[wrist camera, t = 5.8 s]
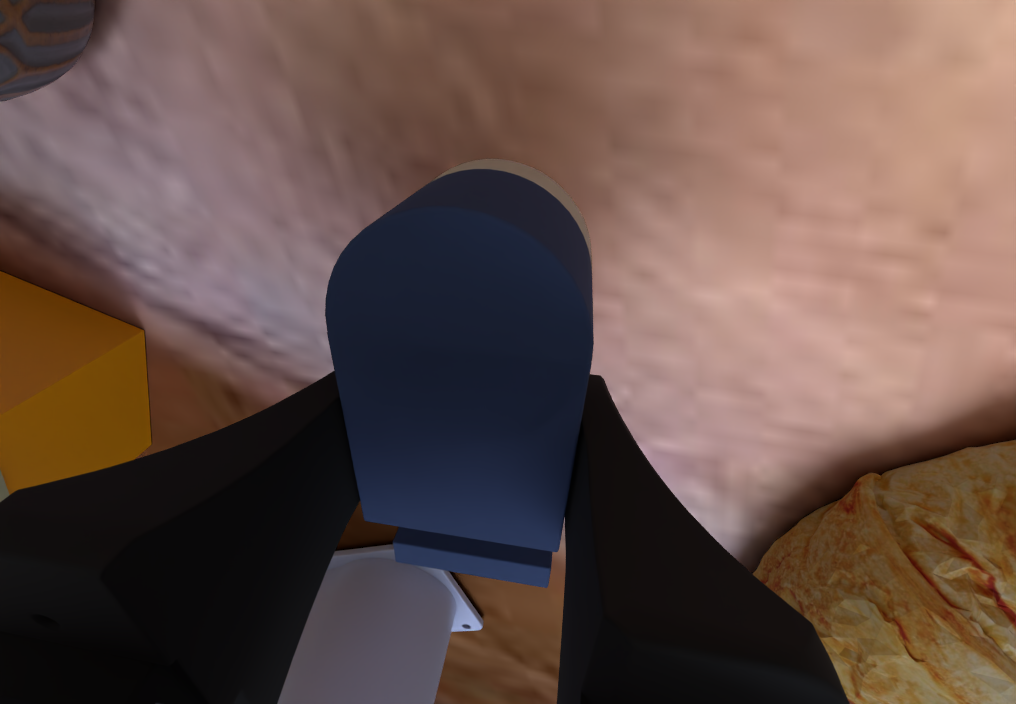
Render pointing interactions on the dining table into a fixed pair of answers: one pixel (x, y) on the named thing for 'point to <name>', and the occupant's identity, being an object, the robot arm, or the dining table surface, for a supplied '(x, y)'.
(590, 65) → the dining table surface
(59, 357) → the orange juice
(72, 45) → the vase
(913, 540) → the croissant
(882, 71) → the dining table surface
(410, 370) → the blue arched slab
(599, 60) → the dining table surface
